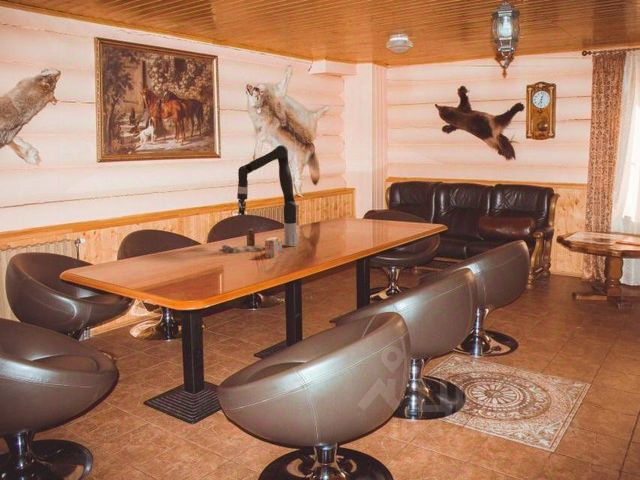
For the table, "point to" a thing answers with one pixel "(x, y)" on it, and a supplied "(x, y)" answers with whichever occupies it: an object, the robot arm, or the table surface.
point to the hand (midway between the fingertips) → (241, 214)
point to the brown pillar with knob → (250, 237)
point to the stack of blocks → (272, 247)
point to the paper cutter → (241, 248)
